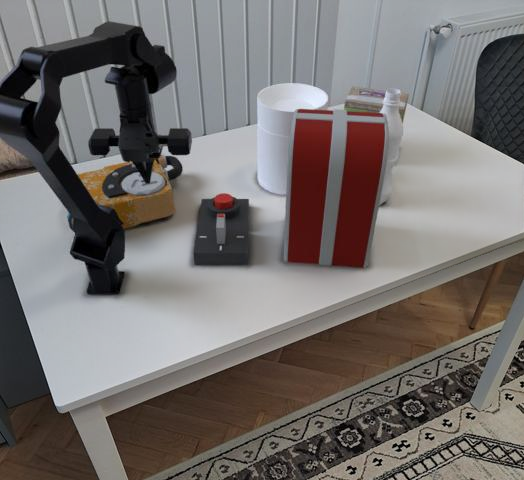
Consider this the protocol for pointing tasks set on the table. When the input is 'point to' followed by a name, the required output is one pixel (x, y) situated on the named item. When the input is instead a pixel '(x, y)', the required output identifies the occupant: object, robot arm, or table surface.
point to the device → (134, 190)
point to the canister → (280, 128)
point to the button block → (225, 211)
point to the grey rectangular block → (221, 229)
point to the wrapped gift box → (334, 185)
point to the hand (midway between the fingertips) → (148, 182)
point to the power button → (223, 201)
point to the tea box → (371, 101)
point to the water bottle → (391, 136)
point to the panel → (221, 245)
